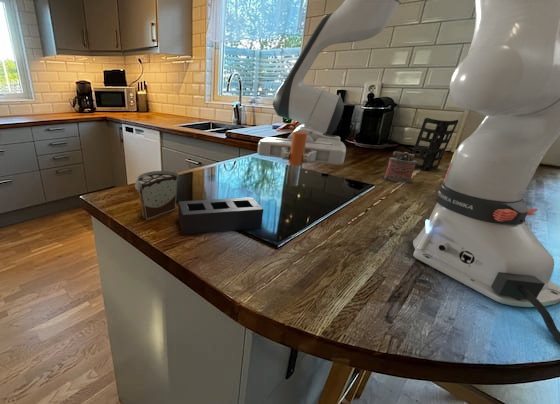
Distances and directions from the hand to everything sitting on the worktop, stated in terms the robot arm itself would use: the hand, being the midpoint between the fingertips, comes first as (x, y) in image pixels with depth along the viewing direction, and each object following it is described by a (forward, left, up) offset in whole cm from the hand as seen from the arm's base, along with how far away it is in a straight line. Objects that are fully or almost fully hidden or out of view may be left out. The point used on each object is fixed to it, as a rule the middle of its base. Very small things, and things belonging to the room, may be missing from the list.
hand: (296, 157), depth 66 cm
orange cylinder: (+1, -1, -7) cm, 7 cm away
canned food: (+15, -73, -17) cm, 76 cm away
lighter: (+25, -56, -17) cm, 63 cm away
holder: (+36, -79, -17) cm, 88 cm away
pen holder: (+2, +16, -17) cm, 24 cm away
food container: (+12, +31, -17) cm, 38 cm away
